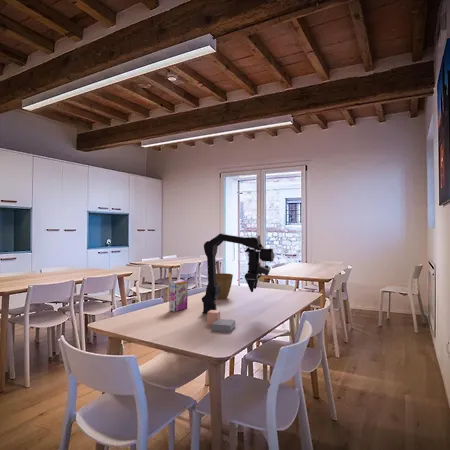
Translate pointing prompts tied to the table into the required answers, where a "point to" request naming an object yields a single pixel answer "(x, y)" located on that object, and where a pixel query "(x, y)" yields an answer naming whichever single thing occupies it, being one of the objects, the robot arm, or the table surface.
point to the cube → (212, 316)
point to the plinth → (223, 325)
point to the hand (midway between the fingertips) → (253, 290)
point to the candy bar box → (178, 295)
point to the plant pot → (224, 284)
